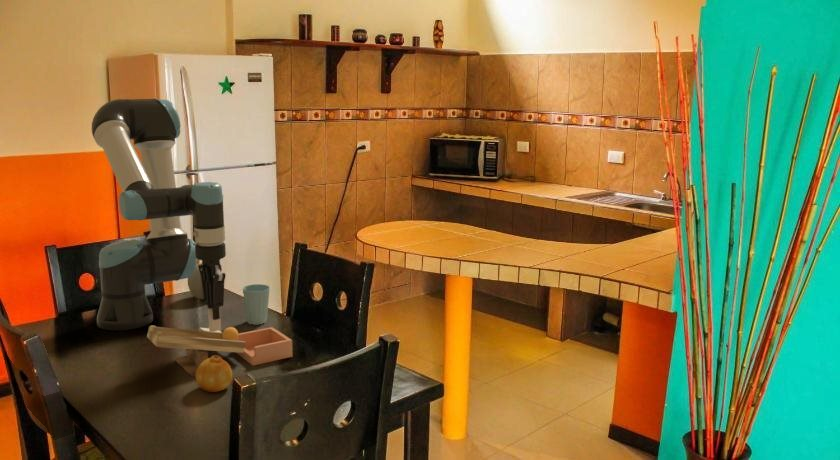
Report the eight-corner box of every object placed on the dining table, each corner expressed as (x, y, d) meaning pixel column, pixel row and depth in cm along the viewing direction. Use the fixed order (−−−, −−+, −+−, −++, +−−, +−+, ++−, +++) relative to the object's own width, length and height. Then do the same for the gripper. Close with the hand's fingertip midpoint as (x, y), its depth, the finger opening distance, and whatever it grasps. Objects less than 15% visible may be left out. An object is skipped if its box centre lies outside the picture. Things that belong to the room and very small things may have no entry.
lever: (136, 326, 187) (139, 314, 187) (218, 333, 200) (220, 321, 200) (156, 346, 173) (159, 333, 173) (243, 352, 187) (246, 340, 187)
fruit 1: (228, 294, 244) (227, 249, 241) (213, 304, 233) (211, 258, 230) (199, 291, 246) (197, 247, 243) (182, 301, 235) (180, 256, 232)
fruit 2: (244, 374, 173) (226, 346, 172) (228, 391, 166) (209, 361, 165) (218, 387, 176) (200, 359, 175) (201, 404, 169) (182, 375, 168)
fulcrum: (175, 360, 187) (174, 342, 186) (202, 355, 191) (202, 337, 190) (191, 376, 178) (191, 357, 177) (220, 370, 182) (219, 351, 181)
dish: (233, 350, 194) (233, 334, 194) (272, 342, 201) (272, 327, 200) (252, 365, 185) (252, 348, 184) (292, 356, 191) (292, 340, 190)
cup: (273, 324, 216) (272, 289, 214) (246, 327, 213) (245, 292, 210) (267, 316, 222) (266, 283, 220) (241, 319, 219) (240, 285, 217)
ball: (227, 322, 189) (237, 331, 191) (216, 334, 188) (227, 343, 190) (233, 326, 186) (244, 336, 188) (222, 338, 185) (233, 348, 187)
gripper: (186, 240, 194) (192, 326, 198) (204, 249, 183) (210, 340, 188) (214, 236, 198) (219, 320, 203) (233, 245, 188) (238, 334, 192)
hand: (215, 329), depth 195 cm, fingers closed
